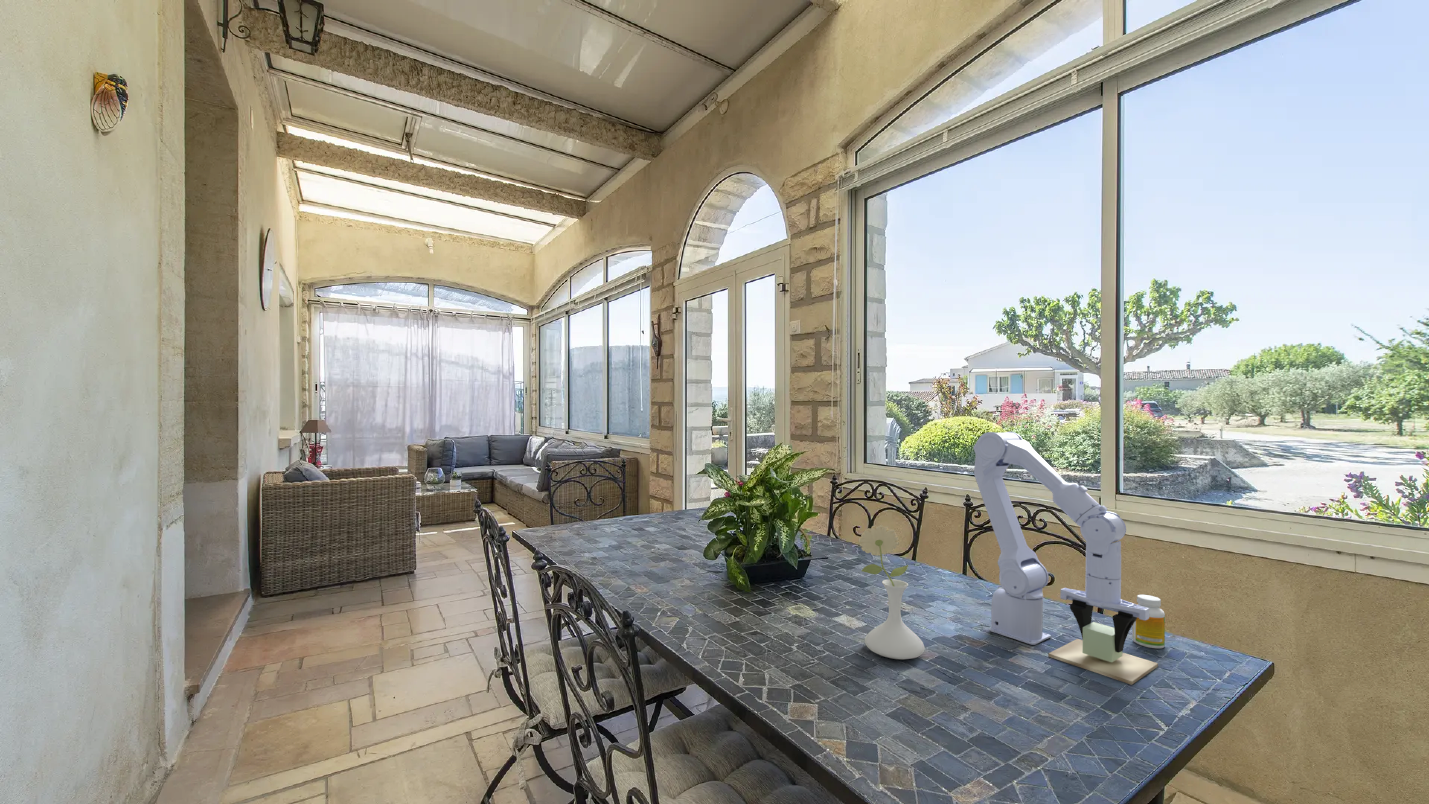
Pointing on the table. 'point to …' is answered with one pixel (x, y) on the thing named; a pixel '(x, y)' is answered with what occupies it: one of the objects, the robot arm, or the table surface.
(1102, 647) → the sage cube
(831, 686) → the table surface
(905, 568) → the flower in vase
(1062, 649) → the wooden board
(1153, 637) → the supplement bottle
